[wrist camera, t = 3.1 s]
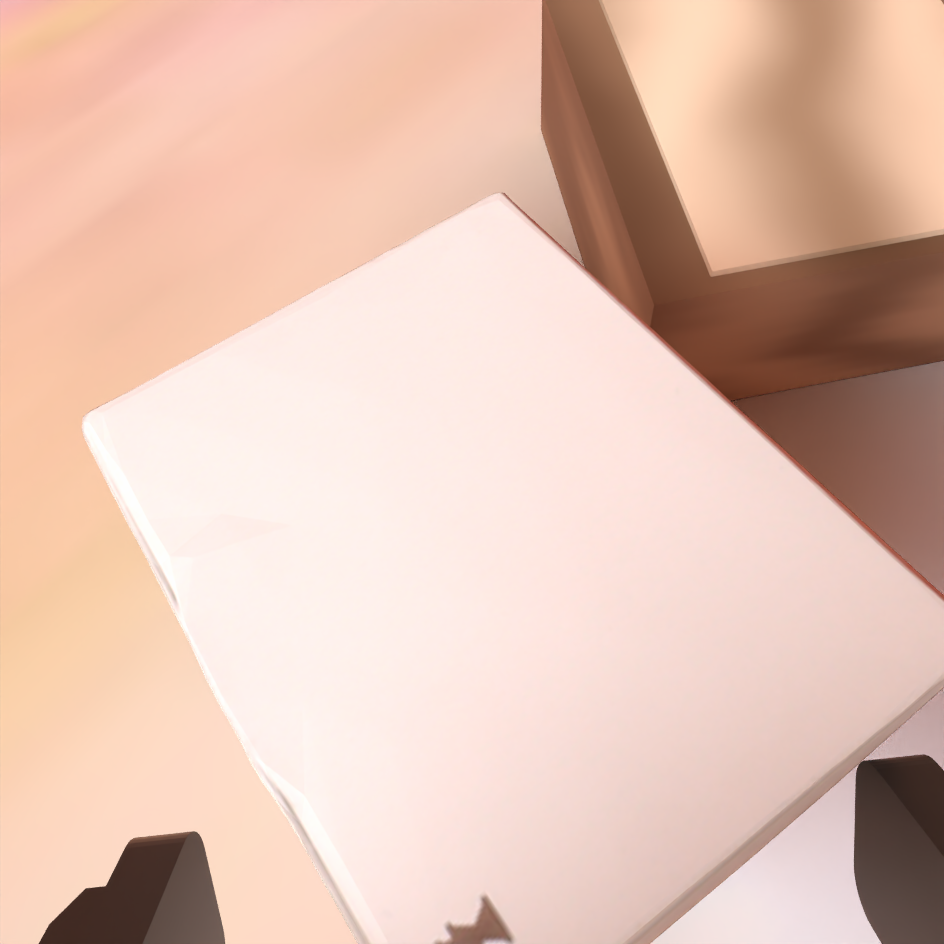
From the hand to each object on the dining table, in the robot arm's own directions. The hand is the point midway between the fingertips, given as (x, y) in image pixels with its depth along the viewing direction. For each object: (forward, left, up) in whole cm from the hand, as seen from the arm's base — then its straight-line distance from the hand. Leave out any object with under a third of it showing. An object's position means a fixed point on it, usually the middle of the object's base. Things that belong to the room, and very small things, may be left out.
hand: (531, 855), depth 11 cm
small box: (0, -2, -10) cm, 10 cm away
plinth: (-11, -17, -10) cm, 23 cm away
